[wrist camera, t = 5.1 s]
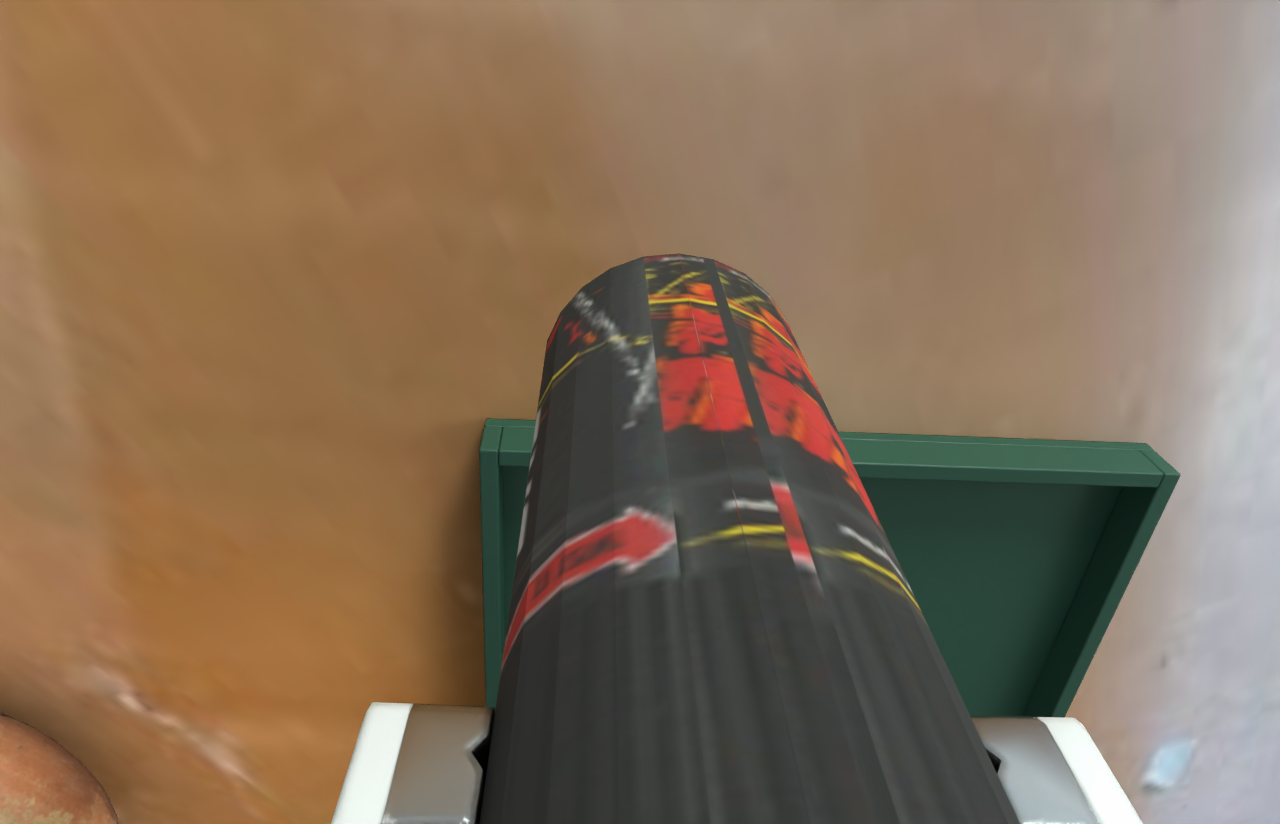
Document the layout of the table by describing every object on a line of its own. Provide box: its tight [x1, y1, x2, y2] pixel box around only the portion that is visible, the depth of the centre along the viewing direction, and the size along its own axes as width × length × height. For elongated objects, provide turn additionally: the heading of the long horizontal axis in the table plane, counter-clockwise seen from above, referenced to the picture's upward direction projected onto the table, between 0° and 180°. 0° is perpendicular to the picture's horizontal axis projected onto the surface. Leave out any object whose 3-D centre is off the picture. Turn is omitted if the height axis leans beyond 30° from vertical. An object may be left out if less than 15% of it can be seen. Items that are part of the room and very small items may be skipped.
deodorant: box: [479, 254, 1020, 824], centre depth 13 cm, size 6×6×15 cm
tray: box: [479, 419, 1180, 717], centre depth 33 cm, size 23×24×2 cm
